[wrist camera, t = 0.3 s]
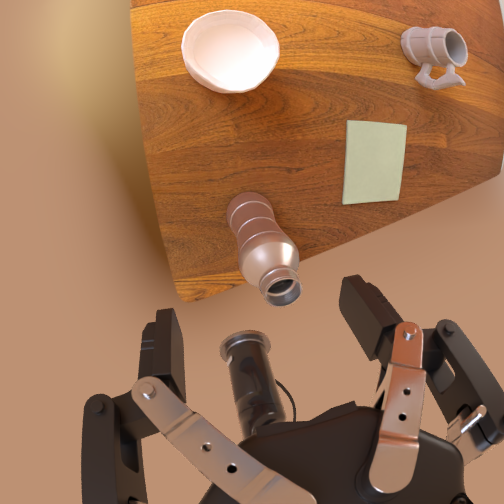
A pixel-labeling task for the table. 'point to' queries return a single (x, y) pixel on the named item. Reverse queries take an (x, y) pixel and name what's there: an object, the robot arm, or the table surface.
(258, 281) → the metal bottle
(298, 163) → the table surface
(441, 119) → the table surface
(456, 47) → the mug
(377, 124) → the mat
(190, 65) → the cup
